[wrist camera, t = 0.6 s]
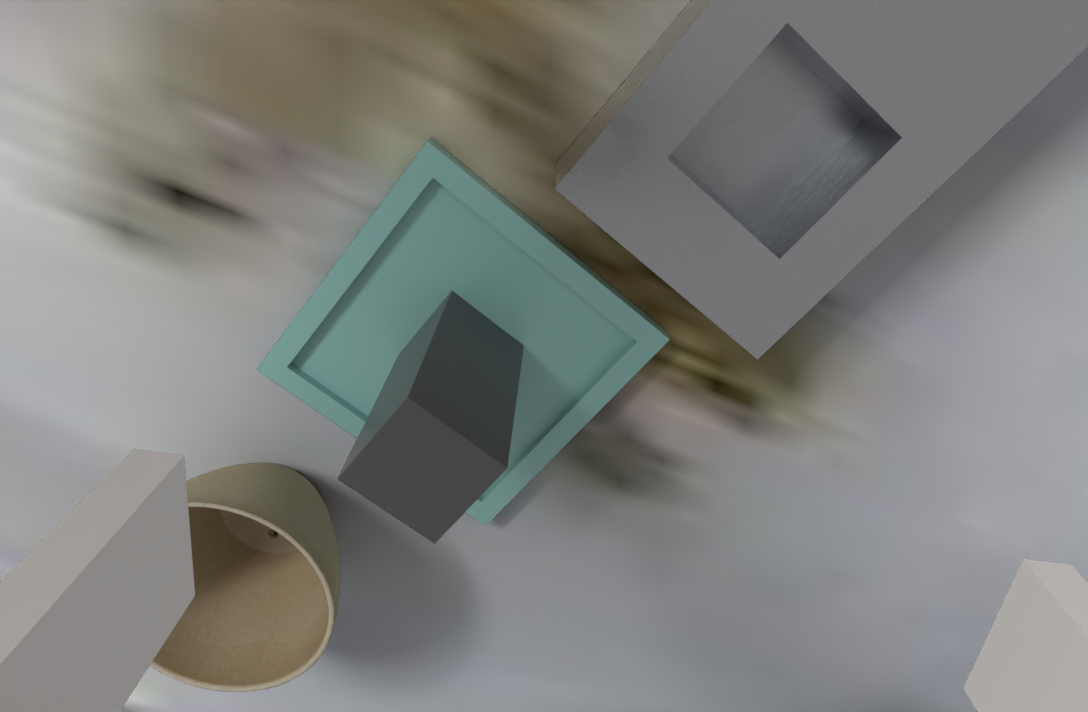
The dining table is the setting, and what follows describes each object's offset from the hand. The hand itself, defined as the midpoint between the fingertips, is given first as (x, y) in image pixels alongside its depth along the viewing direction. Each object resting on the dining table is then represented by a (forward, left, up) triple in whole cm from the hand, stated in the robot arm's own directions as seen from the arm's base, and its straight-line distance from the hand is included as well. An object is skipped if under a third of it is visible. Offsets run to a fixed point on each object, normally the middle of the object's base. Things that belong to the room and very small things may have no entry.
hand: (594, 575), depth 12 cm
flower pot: (-2, -21, -22) cm, 30 cm away
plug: (0, -8, -22) cm, 23 cm away
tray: (0, -8, -22) cm, 23 cm away
